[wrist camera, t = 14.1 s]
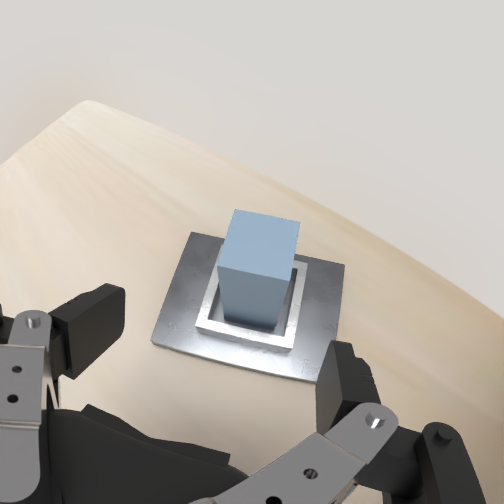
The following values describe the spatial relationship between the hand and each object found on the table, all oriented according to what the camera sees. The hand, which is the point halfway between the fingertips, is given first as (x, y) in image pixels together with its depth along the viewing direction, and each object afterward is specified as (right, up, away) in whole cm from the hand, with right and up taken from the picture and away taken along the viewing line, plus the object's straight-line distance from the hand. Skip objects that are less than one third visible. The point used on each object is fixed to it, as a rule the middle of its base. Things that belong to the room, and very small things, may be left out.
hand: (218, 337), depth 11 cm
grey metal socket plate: (+1, -2, +19) cm, 19 cm away
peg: (+1, -2, +17) cm, 18 cm away
